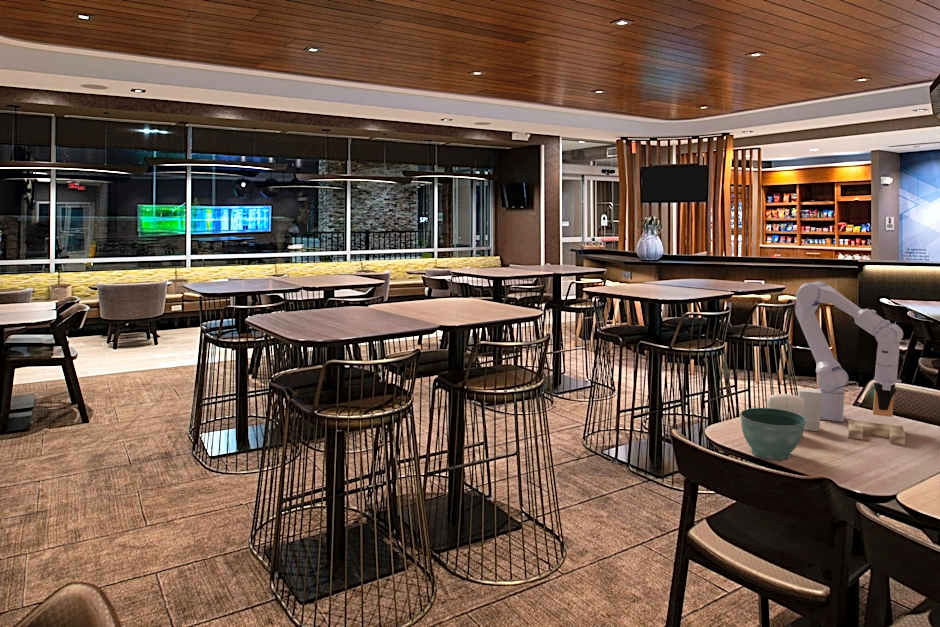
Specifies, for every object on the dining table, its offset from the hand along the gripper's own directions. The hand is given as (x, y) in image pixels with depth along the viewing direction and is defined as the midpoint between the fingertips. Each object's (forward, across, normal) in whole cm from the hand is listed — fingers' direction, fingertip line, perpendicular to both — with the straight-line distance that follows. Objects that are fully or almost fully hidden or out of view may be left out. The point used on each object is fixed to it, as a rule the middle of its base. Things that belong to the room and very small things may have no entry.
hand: (882, 408), depth 210 cm
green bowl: (+6, -41, +28) cm, 50 cm away
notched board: (+6, -10, +2) cm, 12 cm away
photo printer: (+6, -21, +26) cm, 34 cm away
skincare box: (+6, -11, +20) cm, 24 cm away
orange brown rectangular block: (+2, 0, 0) cm, 2 cm away
